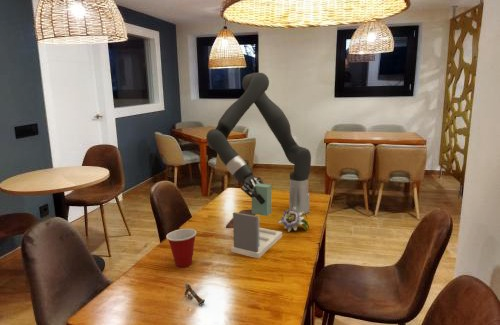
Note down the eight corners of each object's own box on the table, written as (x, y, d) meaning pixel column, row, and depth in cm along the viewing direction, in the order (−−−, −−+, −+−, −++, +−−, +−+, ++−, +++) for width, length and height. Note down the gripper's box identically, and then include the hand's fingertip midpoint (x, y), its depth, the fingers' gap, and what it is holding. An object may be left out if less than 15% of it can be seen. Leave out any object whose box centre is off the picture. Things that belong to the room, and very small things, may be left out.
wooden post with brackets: (185, 290, 113) (188, 281, 111) (201, 309, 109) (205, 299, 107) (181, 293, 112) (184, 283, 110) (197, 312, 108) (200, 302, 106)
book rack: (257, 231, 159) (256, 196, 156) (282, 236, 154) (282, 200, 150) (231, 251, 141) (230, 213, 137) (258, 258, 135) (258, 218, 131)
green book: (256, 210, 151) (256, 182, 149) (271, 213, 148) (271, 185, 146) (251, 213, 148) (251, 185, 145) (267, 216, 145) (267, 187, 142)
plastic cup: (181, 254, 139) (180, 225, 137) (204, 260, 134) (202, 230, 131) (161, 266, 130) (159, 235, 128) (184, 274, 125) (182, 241, 122)
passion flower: (289, 242, 160) (273, 222, 159) (295, 229, 169) (280, 209, 168) (309, 233, 154) (293, 211, 153) (314, 220, 164) (299, 199, 162)
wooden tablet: (241, 207, 188) (260, 206, 185) (242, 211, 189) (260, 210, 186) (224, 226, 163) (244, 226, 160) (224, 231, 164) (245, 231, 161)
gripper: (236, 167, 141) (264, 201, 138) (253, 160, 153) (279, 191, 150) (225, 178, 145) (252, 212, 142) (242, 171, 157) (267, 201, 154)
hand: (265, 201), depth 146 cm, fingers closed on green book, 4 cm apart
